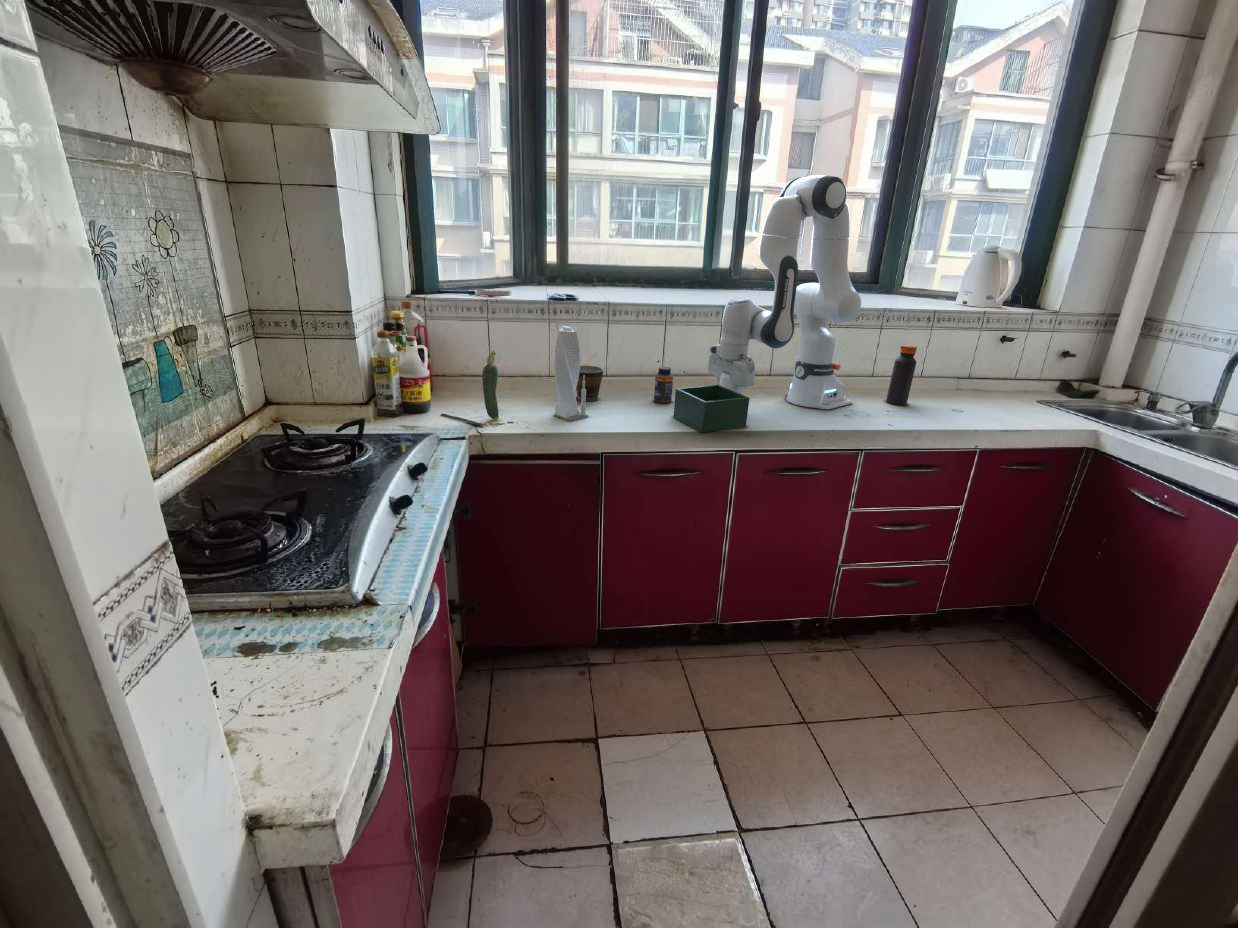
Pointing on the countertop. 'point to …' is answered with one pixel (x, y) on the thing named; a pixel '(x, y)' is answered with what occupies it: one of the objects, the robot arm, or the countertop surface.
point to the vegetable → (490, 387)
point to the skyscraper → (568, 373)
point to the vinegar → (902, 376)
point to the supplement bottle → (663, 385)
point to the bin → (711, 408)
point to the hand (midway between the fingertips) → (728, 394)
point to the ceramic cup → (589, 382)
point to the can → (726, 381)
